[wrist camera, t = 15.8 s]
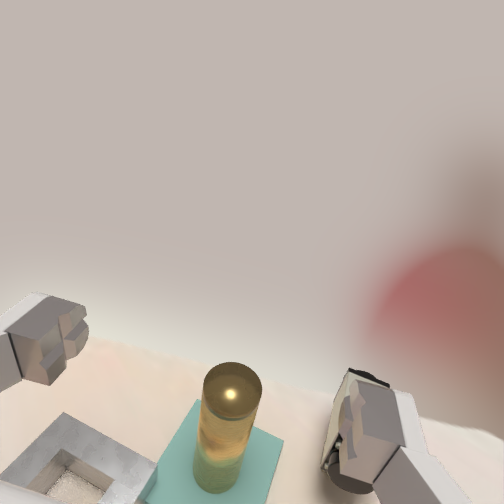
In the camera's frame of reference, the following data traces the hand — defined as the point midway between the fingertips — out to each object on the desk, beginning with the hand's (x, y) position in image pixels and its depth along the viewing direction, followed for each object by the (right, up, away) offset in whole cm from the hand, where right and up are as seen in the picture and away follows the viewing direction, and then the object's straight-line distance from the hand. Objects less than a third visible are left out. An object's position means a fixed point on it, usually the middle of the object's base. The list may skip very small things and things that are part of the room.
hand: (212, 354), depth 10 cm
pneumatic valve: (+12, -23, +29) cm, 39 cm away
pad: (-3, -21, +27) cm, 34 cm away
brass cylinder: (-3, -21, +26) cm, 33 cm away
